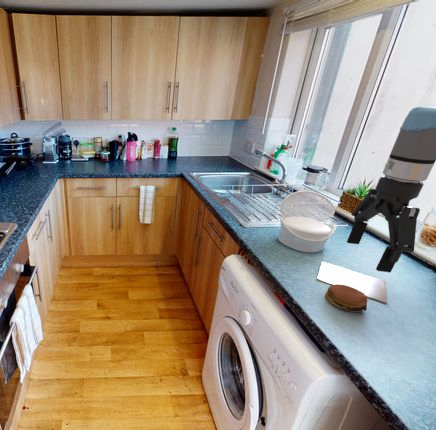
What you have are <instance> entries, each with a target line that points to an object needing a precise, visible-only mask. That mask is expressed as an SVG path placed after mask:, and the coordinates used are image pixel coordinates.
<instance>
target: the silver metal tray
mask: <svg viewBox="0 0 436 430" xmlns="http://www.w3.org/2000/svg"><path fill="white" fill-rule="evenodd" d="M316 281H319V282H322V283H324V284H327V285H330V286H332V285H335V284H341V285H346V286H350V287H352V288H355V289H357V290H359V291H360V292H362V293H364V294H365V295H366V297H367V299H371V300H373V301H377V302H380V303H382V304H384V305H385V304H386V305H387V304H388V298H387V286H386V285H387V284H386V280H383V279H381V278H377V277H373V276H370V275H367V274H364V273H361V272H358V271H355V270H351V269H348V268H345V267H343V266H339V265H336V264H332V263H329V262H325V261H322V260H321V261H320V265H319V269H318V273H317V276H316Z"/></svg>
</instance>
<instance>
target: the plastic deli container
mask: <svg viewBox="0 0 436 430" xmlns="http://www.w3.org/2000/svg"><path fill="white" fill-rule="evenodd" d="M279 207H280V208H279V210H280V213H281V215H282V216H279V221H280V232H279V234H278V237H277V239H278V241H279V242H280V243H281V244H283V245H284V246H286V247H288V248H291V249H293V250H296V251H299V252H303V253H319V252H321V251H323V250H324V249H325V246H326V242H327V240H328V239H329V238H331V237H332V236H333V235H334V234H335V233H336V231H337V228H338V227H337V224H336V223H333V222H326V221H328V220H330V219H331V218H333V216H335V213H336V208H335V207H336V206H335V205H334V203H333V202H332V200H331V199H329V198H328V197H326V196H325V195H323V194H321V193H319V192H317V191H314V190H313V191H312V190H298V191H294V192H291V193H290V194H288V195H287V196H285V198H284V199H283V200H282V202H281V203H280V206H279Z"/></svg>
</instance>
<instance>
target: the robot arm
mask: <svg viewBox="0 0 436 430" xmlns="http://www.w3.org/2000/svg"><path fill="white" fill-rule="evenodd" d="M435 163H436V106H417V107H416V106H415V107H413V108H412V109H411V110H409V111H408V113H407V115H406V116H405V118H404V121H403V122H402V125H401V126H400V127H399V132H398V134H397V137H396V139H395V141H394V144H393V146H392V149H391V151H390V154H389V155H388V159H387V161H386V163H384V167H383V171H382V174H383V175H381V176H380V177H379V179H378V181H377V184H376V186H375V188H370V189H369V191H368V193H367V195H366V196H365V197H364V198H363V199H362V200H361V202H360V203H358V205H357V206H356V207H355V208H354V209H353V211H351V216H352V217H353V220H354V222H353V225H352V227H351V231H350V233H349V235H348V238H347V240H346V243H347V244H352V245H360V242H361V240H362V238H363V236H364V234H365V231H366V229H367V228H368V227H367V226H368V225H369V220H371V219H372V218H374V217H376V216H377V215H379V214H381V216H383V217H384V220H385V221H386V222H387V226H388V234H389V245H388V246H386V247H385V249H384V251H383V253H382V255H381V257H380V259H379V261H378V263H377V266H376V267H375V270H376V271H377V272H381V273H382V272H384V273H389V274H390V273H392V270H393V268H394V266H395V265H396V263H398V262H399V260H400V259H401V257H402V254H403V253H405V252H406V253H413V252H415V243H416V234H417V233H416V232H417V221H418V217H419V214H420V211H421V209H420V207H413V206H410V202H411V200H413V199H417V198H418V197H419V195H420V193H421V190H422V189H423V187H424V186H425V184H424V182H425V181H427V179H428V178H429V176H430V173H431V171H432V169H433V167H434V165H435Z"/></svg>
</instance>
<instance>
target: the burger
mask: <svg viewBox="0 0 436 430" xmlns="http://www.w3.org/2000/svg"><path fill="white" fill-rule="evenodd" d="M324 295H325V298H326V300H327V302H328V303H329V304H331V305H332V306H335V307H337V308H339V309H342V310H345V311H346V312H347V311H348V312H351V313H361V312H363V311H364V312H366V311H367V309H368V297H366V295H365V294H364V293H362V292H360V291H359V290H357V289H355V288H352V287H350V286H346V285H341V284H335V285H330V286H329V287H328V288H327V290H326V292H325V294H324Z"/></svg>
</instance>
